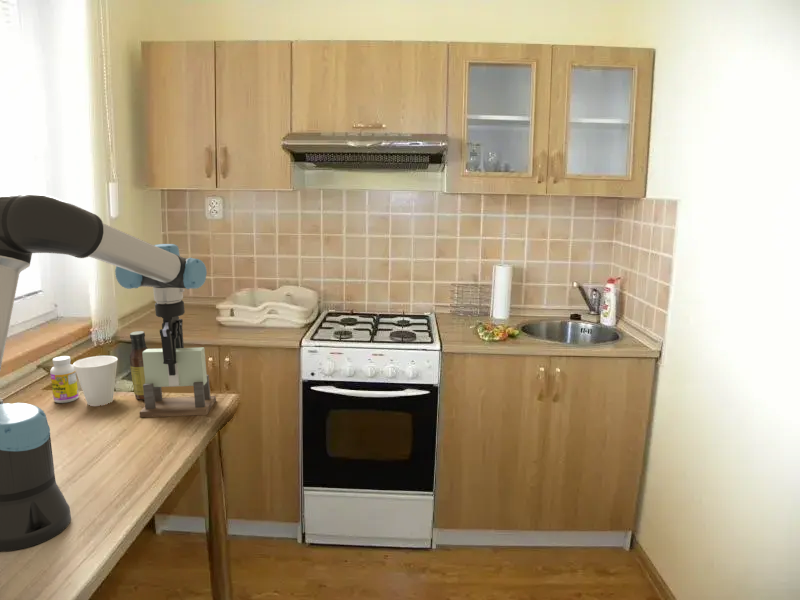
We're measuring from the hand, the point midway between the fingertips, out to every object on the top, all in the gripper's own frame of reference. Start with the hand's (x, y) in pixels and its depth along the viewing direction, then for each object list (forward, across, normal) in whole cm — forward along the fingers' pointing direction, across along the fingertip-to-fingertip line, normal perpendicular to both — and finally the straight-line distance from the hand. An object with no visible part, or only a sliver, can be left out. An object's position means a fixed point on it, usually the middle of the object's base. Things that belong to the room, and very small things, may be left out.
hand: (176, 383), depth 183 cm
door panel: (0, 0, 0) cm, 0 cm away
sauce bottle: (+8, +11, +13) cm, 19 cm away
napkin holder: (+8, 0, 0) cm, 8 cm away
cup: (+8, +8, +25) cm, 27 cm away
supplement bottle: (+8, +11, +36) cm, 38 cm away
